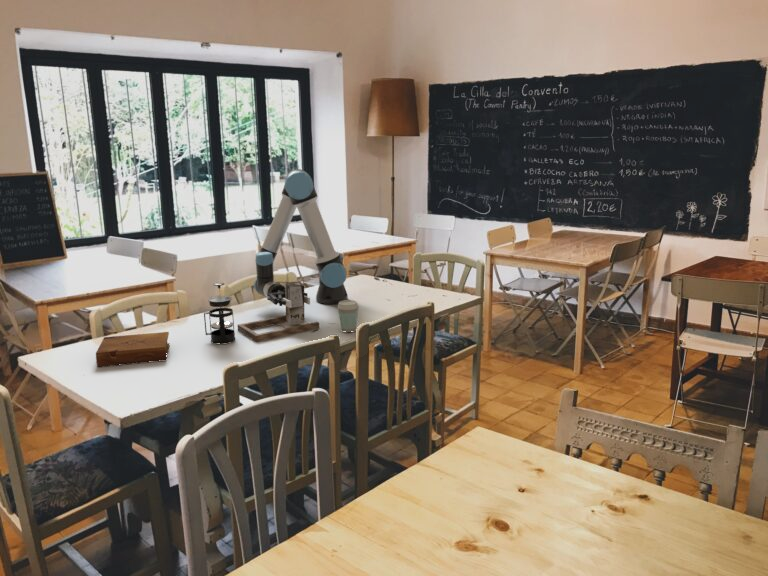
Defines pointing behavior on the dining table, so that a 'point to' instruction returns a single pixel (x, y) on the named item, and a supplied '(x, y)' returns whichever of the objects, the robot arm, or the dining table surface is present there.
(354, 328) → the coffee cup
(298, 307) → the coffee box
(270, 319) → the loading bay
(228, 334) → the french press
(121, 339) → the brown wooden flat block
